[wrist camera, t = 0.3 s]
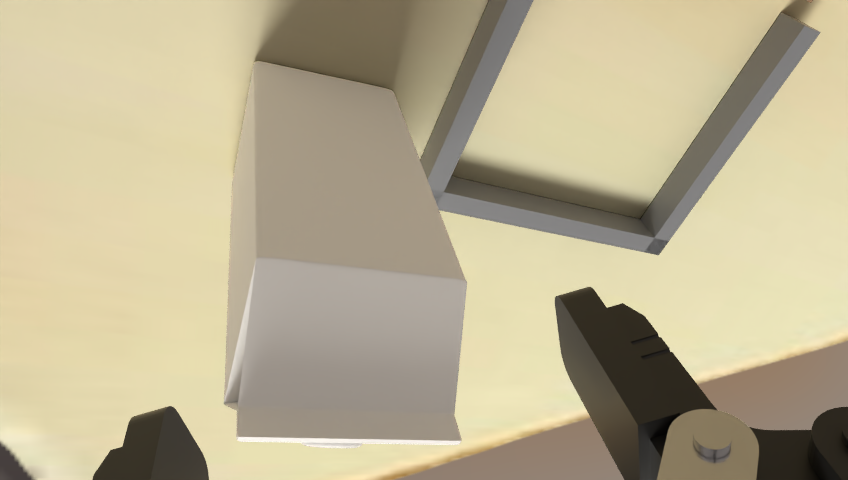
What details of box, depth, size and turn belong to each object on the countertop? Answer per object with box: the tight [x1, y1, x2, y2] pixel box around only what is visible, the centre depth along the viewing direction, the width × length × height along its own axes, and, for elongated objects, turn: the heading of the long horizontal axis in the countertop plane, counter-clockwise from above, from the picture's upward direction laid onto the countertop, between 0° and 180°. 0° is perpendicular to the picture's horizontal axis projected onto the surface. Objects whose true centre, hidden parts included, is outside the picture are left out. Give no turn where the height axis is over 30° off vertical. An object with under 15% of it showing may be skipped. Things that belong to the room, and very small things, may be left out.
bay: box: [420, 0, 820, 255], centre depth 36 cm, size 16×17×2 cm
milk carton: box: [224, 61, 467, 448], centre depth 27 cm, size 7×7×19 cm
